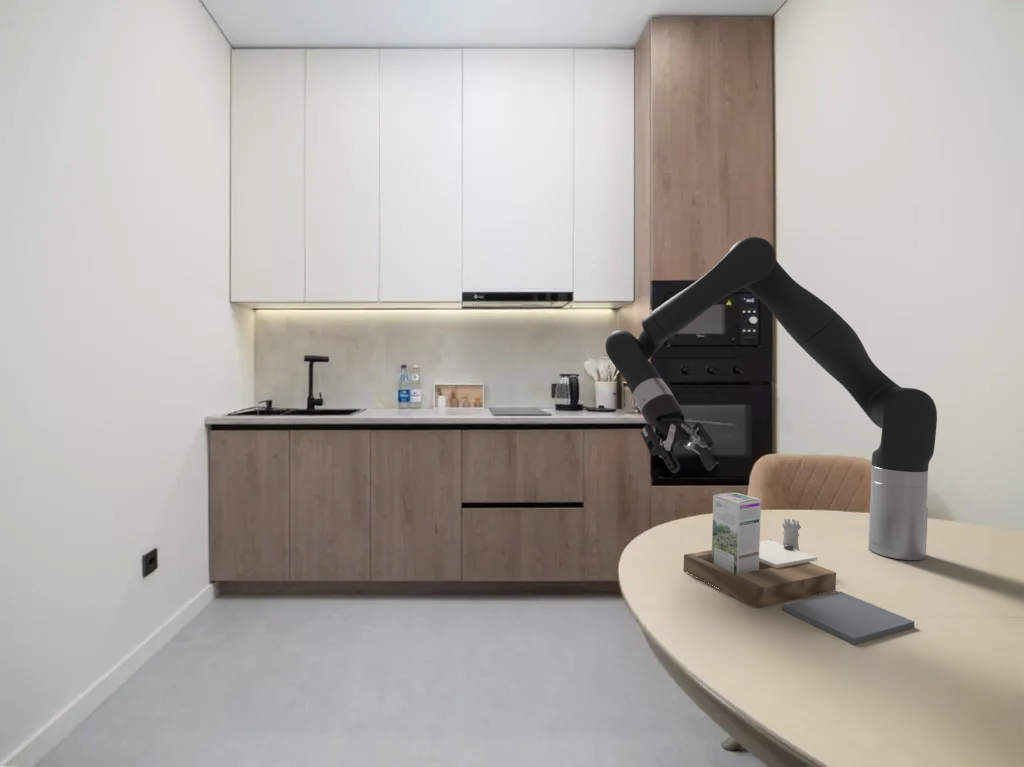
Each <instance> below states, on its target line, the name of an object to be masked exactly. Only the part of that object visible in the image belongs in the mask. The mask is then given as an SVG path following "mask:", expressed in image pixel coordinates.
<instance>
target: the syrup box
mask: <svg viewBox="0 0 1024 767" xmlns="http://www.w3.org/2000/svg"><path fill="white" fill-rule="evenodd" d="M712 497H713V498H712V534H711V535H712V538H711V539H712V540H711V550H712V564H714V565H716V566H719V567H721V568H723V569H725V570H727V571H729V572H731V573H734V574H741V573H746V572H752V571H757V570H759V548H760V541H761V537H760V536H761V517H762V516H761V512H762V511H761V510H762V509H761V508H762V500H761V498H757V497H753V496H750V495H746V494H743V493H739V492H733V491H731V492H722V493H717V494H713V495H712Z"/></svg>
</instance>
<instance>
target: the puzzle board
mask: <svg viewBox="0 0 1024 767" xmlns="http://www.w3.org/2000/svg"><path fill="white" fill-rule="evenodd" d="M684 571H686V572H688V573H689V575H690V574H692V575H693V577H694V576H695V577H694V578H696V577H697V578H696V579H698V578H699V579H698V580H700V579H701V581H702V580H703V581H702V582H704V581H705V582H704V583H706V582H707V583H706V584H708V583H709V584H708V585H710V584H711V585H710V586H712V585H713V586H712V587H714V586H715V587H717V588H719V589H720V590H719V589H718V590H719V591H721V590H722V591H721V592H723V591H724V592H723V593H725V592H726V593H725V594H727V593H728V594H727V595H730V596H731V595H732V596H731V597H734V598H736V599H737V600H739V601H740V602H743V603H745V604H747V605H748V606H751V607H752V608H754V609H757V608H758V609H759V608H762V607H763V608H764V607H767V606H771V605H777V604H782V603H786V602H788V601H789V602H790V601H794V600H798V599H803V598H807V597H812V596H818V595H820V594H826V593H829V592H835V591H836V589H837V588H836V586H837V572H836V571H834V570H831V569H828V568H825V567H823V566H820V565H818V564H815V563H813V562H806V563H801V564H796V565H790V566H785V567H780V568H774V567H772V566H769V565H767V564H765V563H762V562H760V561H759V570H757V571H752V572H746V573H741V574H734V573H731V572H729V571H727V570H725V569H723V568H721V567H719V566H716V565H714V564H712V549H710V550H704V551H698V552H693V553H686V554H684V555H683V572H684ZM686 572H685V573H686ZM688 573H687V574H688ZM692 575H691V576H692ZM715 587H714V588H715ZM717 588H716V589H717Z"/></svg>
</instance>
